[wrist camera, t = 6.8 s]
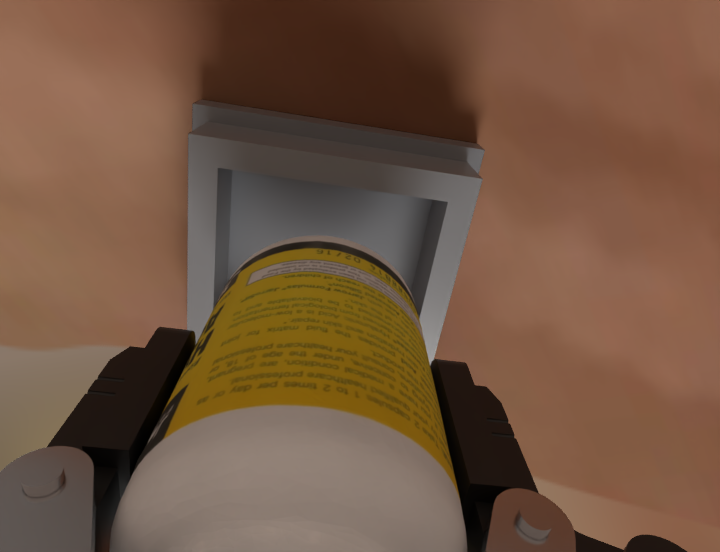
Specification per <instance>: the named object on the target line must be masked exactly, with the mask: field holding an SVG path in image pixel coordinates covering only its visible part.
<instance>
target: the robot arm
mask: <svg viewBox="0 0 720 552" xmlns="http://www.w3.org/2000/svg"><path fill="white" fill-rule="evenodd" d="M195 345H196V337H195V332H194V331H191V330H183V329H174V328H165V327H159V328H158V329H157V330H156V331H155V333H154V335H153V336H152V338H151V339H150V341H149V342H148V344H147V345H146V347H145V348H140V347H131V346H130V347H129V348H127V349H126V350H124V351H123V352H121V353H120V354H118V355H117V356H115V357H113V358H112V359H110V361H109V362H108V363H107V365H106V366H105V368H104V369H103V370H102V372H101V373H100V374H99V376H98V379H97V380H95V381H94V383H93V384H92V386H91V387H90V388H89V390H88V393H87V394H85V395H84V397H83V398H82V399H81V401H80V402H79V403H78V405H77V406H76V408H75V409H74V411H73V412H72V413H71V414H70V416H69V417H68V418H67V420H66V421H65V423H64V424H63V425H62V427H61V428H60V430H59V431H58V432H57V434H56V435H55V436H54V438H53V439H52V440H51V442H50V443H49V445H48V446H47V447H46V448H42V449H38V450H35V451H32V452H29V453H27V454H25V455H23V456H21V457H19V458H17V459H16V460H14V461H13V462H11V463H10V464H8V465H7V466H6V467H5V468H4V469H3V470H2V471H1V472H0V552H109V548H110V538H111V529H112V525H113V522H114V518H115V514H116V511H117V508H118V505H119V502H120V500H121V498H122V496H123V494H124V492H125V489H126V486H127V484H128V482H129V480H130V478H131V476H132V474H133V472H134V469H135V466H136V463H137V460H138V459H139V457H140V455H141V454H142V452H143V450H144V448H145V446H146V445H147V443H148V441H149V439H150V437H151V435H152V433H153V430H154V429H155V426H156V425H157V423H158V421H159V419H160V417H161V415H162V413H163V411H164V409H165V407H166V405H167V403H168V401H169V399H170V397H171V395H172V392H173V390H174V388H175V386H176V384H177V382H178V380H179V378H180V376H181V374H182V372H183V370H184V368H185V366H186V364H187V362H188V360H189V357H190V355H191V353H192V352H193V350H194V347H195ZM430 368H431V372H432V377H433V381H434V385H435V389H436V394H437V398H438V403H439V407H440V412H441V416H442V421H443V426H444V430H445V435H446V439H447V444H448V449H449V453H450V458H451V462H452V466H453V470H454V475H455V479H456V483H457V488H458V492H459V496H460V502H461V507H462V513H463V519H464V524H465V529H466V538H467V552H687V551H685V550H684V549H682V548H681V547H679V546H678V545H676V544H674V543H672V542H670V541H668V540H666V539H663V538H661V537H657V536H653V535H639V536H636V537H634V538H632V539H631V540H630V541H629V542H628V544H627V546H626V547H625V549H624V550H622V549H620V548H617V547H614V546H612V545H609V544H606V543H604V542H601V541H598V540H596V539H593V538H590V537H587V536H585V535H583V534H581V533H578V532H577V531H575V530H574V529H573V526H572V524H571V522H570V520H569V519H568V518H567V516H566V514H565V513H563V511H562V510H561V509H560V508H559V507H558V506H557V505H556V504H555V503H553V502H552V501H551V500H549V499H548V498H546V497H545V496H543V495H541V494H539V493H538V490H537V488H536V485H535V483H534V481H533V478H532V476H531V473H530V471H529V469H528V466H527V464H526V461H525V459H524V457H523V454H522V452H521V449H520V447H519V444H518V442H517V440H516V439H515V438H514V432H513V430H512V428H511V425H510V424H508V418H507V416H506V413H505V411H504V408H503V406H502V403H501V402H500V401H499V400H498V399H497V398H496V397H495V396H494V394H493V393H492V392H491V391H490V390H489V389H488V388H487V387H485V386H476V385H474V382H473V380H472V377H471V374H470V371H469V368H468V366H467V364H466V363H464V362H456V361H447V360H438V359H434V360H433V361H432V362H431V365H430Z"/></svg>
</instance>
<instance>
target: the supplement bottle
mask: <svg viewBox="0 0 720 552" xmlns="http://www.w3.org/2000/svg"><path fill="white" fill-rule="evenodd" d="M109 552H467V538H466V529H465V524H464V519H463V513H462V507H461V502H460V496H459V492H458V488H457V483H456V479H455V475H454V470H453V466H452V462H451V458H450V453H449V449H448V444H447V439H446V435H445V430H444V426H443V421H442V416H441V412H440V407H439V403H438V398H437V394H436V389H435V385H434V381H433V377H432V372H431V368H430V363H429V359H428V354H427V350H426V345H425V341H424V337H423V332H422V327H421V324H420V320H419V315H418V311H417V308H416V305H415V302H414V299H413V297H412V294H411V292H410V290H409V288H408V286H407V285H406V283H405V281H404V280H403V278H402V277H401V275H400V274H399V273H398V272H397V271H396V269H395V268H394V267H393V266H392V265H391V264H390V263H389V262H388V261H387V260H385V259H384V258H383V257H381V256H380V255H379V254H377V253H376V252H374V251H372V250H370V249H369V248H367V247H365V246H362V245H360V244H358V243H355V242H352V241H349V240H346V239H342V238H337V237H331V236H302V237H295V238H290V239H286V240H282V241H279V242H277V243H274V244H272V245H269V246H267V247H265V248H263V249H262V250H260V251H258V252H257V253H255V254H253V255H252V256H251V257H249V258H248V259H247V260H246V261H245V262H244V263H243V264H242V265H240V266H239V268H238V269H237V270H236V271H235V273H234V274H233V275H232V277H231V278H230V280H229V281H228V283H227V284H226V286H225V288H224V289H223V291H222V293H221V295H220V296H219V298H218V300H217V302H216V304H215V307H214V309H213V311H212V313H211V315H210V317H209V319H208V321H207V323H206V325H205V327H204V329H203V331H202V333H201V335H200V337H199V339H198V341H197V343H196V345H195V347H194V350H193V352H192V353H191V355H190V357H189V360H188V362H187V364H186V366H185V368H184V370H183V372H182V374H181V376H180V378H179V380H178V382H177V384H176V386H175V388H174V390H173V392H172V395H171V397H170V399H169V401H168V403H167V405H166V407H165V409H164V411H163V413H162V415H161V417H160V419H159V421H158V423H157V425H156V426H155V429H154V430H153V433H152V435H151V437H150V439H149V441H148V443H147V445H146V446H145V448H144V450H143V452H142V454H141V455H140V457H139V459H138V460H137V463H136V466H135V469H134V472H133V474H132V476H131V478H130V480H129V482H128V484H127V486H126V489H125V492H124V494H123V496H122V498H121V500H120V502H119V505H118V508H117V511H116V514H115V518H114V522H113V525H112V529H111V538H110V548H109Z"/></svg>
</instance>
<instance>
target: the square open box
mask: <svg viewBox="0 0 720 552" xmlns="http://www.w3.org/2000/svg"><path fill="white" fill-rule="evenodd" d="M484 151H485V150H484V149H483V148H482V147H481V146H479V145H478V144H477V143H470V142H464V141H458V140H452V139H445V138H439V137H433V136H427V135H420V134H414V133H408V132H402V131H395V130H389V129H383V128H377V127H370V126H364V125H358V124H352V123H345V122H339V121H333V120H327V119H320V118H314V117H308V116H302V115H295V114H289V113H283V112H277V111H270V110H264V109H258V108H252V107H245V106H239V105H233V104H227V103H220V102H214V101H208V100H199V101H197V102H195V103H193V118H192V132H190V133H188V291H187V330H191V331H194V332H195V337H196V343H197V341H198V339H199V337H200V335H201V333H202V331H203V329H204V327H205V325H206V323H207V321H208V319H209V317H210V315H211V313H212V311H213V309H214V307H215V304H216V302H217V300H218V298H219V296H220V295H221V293H222V291H223V289H224V288H225V286H226V284H227V283H228V281H229V280H230V278H231V277H232V275H233V274H234V273H235V271H236V270H237V269H238V268H239V266H240V265H242V264H243V263H244V262H245V261H246V260H247V259H248V258H249V257H251V256H252V255H253V254H255V253H257V252H258V251H260V250H262V249H263V248H265V247H267V246H269V245H272V244H274V243H277V242H279V241H282V240H286V239H290V238H295V237H302V236H331V237H337V238H342V239H346V240H349V241H352V242H355V243H358V244H360V245H362V246H365V247H367V248H369V249H370V250H372V251H374V252H376V253H377V254H379V255H380V256H381V257H383V258H384V259H385V260H387V261H388V262H389V263H390V264H391V265H392V266H393V267H394V268H395V269H396V271H397V272H398V273H399V274H400V275H401V277H402V278H403V280H404V281H405V283H406V285H407V286H408V288H409V290H410V292H411V294H412V297H413V299H414V302H415V305H416V308H417V311H418V315H419V320H420V324H421V327H422V332H423V337H424V341H425V345H426V350H427V354H428V359H429V363H430V365H431V362H432V361H433V360H434V356H435V352H436V349H437V345H438V341H439V337H440V334H441V330H442V326H443V323H444V319H445V315H446V312H447V308H448V304H449V301H450V297H451V293H452V290H453V286H454V282H455V279H456V275H457V271H458V268H459V264H460V260H461V256H462V253H463V249H464V245H465V242H466V238H467V234H468V231H469V227H470V223H471V220H472V216H473V212H474V209H475V205H476V201H477V198H478V194H479V190H480V187H481V183H482V178H481V177H480V176H479V170H480V166H481V162H482V159H483V155H484Z"/></svg>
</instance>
